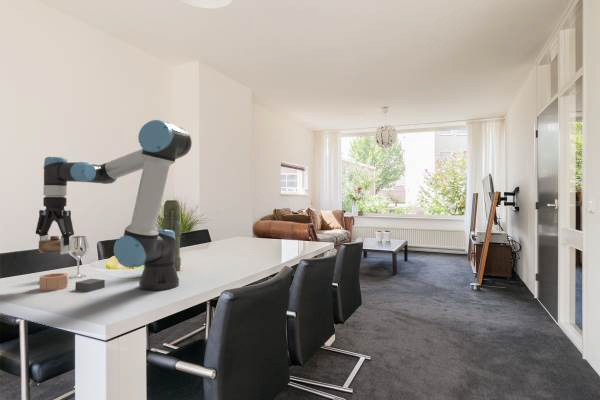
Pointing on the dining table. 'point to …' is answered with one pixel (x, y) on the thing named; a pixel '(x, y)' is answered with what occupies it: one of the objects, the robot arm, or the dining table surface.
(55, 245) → the lid
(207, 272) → the dining table surface
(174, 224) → the thermos
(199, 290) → the dining table surface
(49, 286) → the bowl
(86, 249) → the wineglass
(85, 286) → the stand
